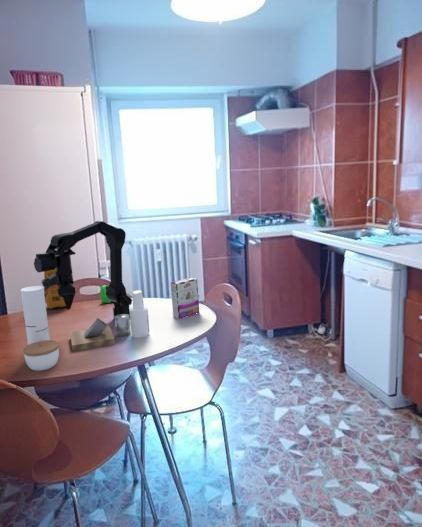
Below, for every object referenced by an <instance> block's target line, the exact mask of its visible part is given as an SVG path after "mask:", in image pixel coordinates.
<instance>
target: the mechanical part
mask: <svg viewBox="0 0 422 527" xmlns="http://www.w3.org/2000/svg"><path fill="white" fill-rule="evenodd" d="M106 286H107V285H105V284H104V285H102V286H101V287H100V299H101V303H108V304H111V302H110V300H109V299H107V295H105V294H106Z"/></svg>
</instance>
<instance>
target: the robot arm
mask: <svg viewBox="0 0 422 527" xmlns="http://www.w3.org/2000/svg"><path fill="white" fill-rule="evenodd" d="M98 233H99V234H100V235H102V236H104V237H105V240H106V245H107V246H108V248H109V261H110V262H109V266H110V271H109V272H110V281H109V284H108V285H106V294H105V295H107V299H109V300H110V302H111V303H110V304H112V305H113V307H112V315H113V316H112V317H113V318H114V319H115V316H116V315H119V314H128V315H129V318H130V305H133V298H131V297H130V296H128V295H127V289H126V286H125V285H124V283H123V259H122V258H123V257H122V256H123V254H122V253H123V252H122V251H123V250H122V249H123V247H124V245H125V244H126V243H125V242H126V235H127V234H126V231H125V230H124V229H123V228H121V227H116V226H113V225H111V224H109V223H107V222H105V221H102V220H101V221H100V220H97V221H94V222H93V223H90V224H87V225H86V226H83V227H81V228H79V229H78V228H77V229H76V230H74V231H71V232H65V233H59V234H54V235H52V236H51V239H50V243H49V245H48V246H47V248H46V251H45V252H44V253H36V254H35V258H34V261H33V266H34V269H35V271H36V272H37V273H42V272H43V273H44V271H49V270H54V269H55V268H56V274H54V275H52V276H49V277H47V278H44V279H41V284H42V286H43V288H45V289H48V288H49V287H51V286H53V285H55V284H57V286H58V295H59V296H61V297H62V298H63V299H64V302H65V305H66V306H65V307H66V310H67V311H68V310H69V311H70V310H71V307H72V305H73V302H74V299H75V295H76V293H77V292H76V286H75V284H74V283H75V282H74V277H73V267H72V266H73V265H72V258H71V256H73V255H75V254H76V252H75V251H74V250H72V248H73V247H74V246H75V245H76V244H78V243H79V242H80V241H82V240H85V239H88V238H90V237H91V236H94V235H96V234H98ZM59 285H60V286H59Z"/></svg>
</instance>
